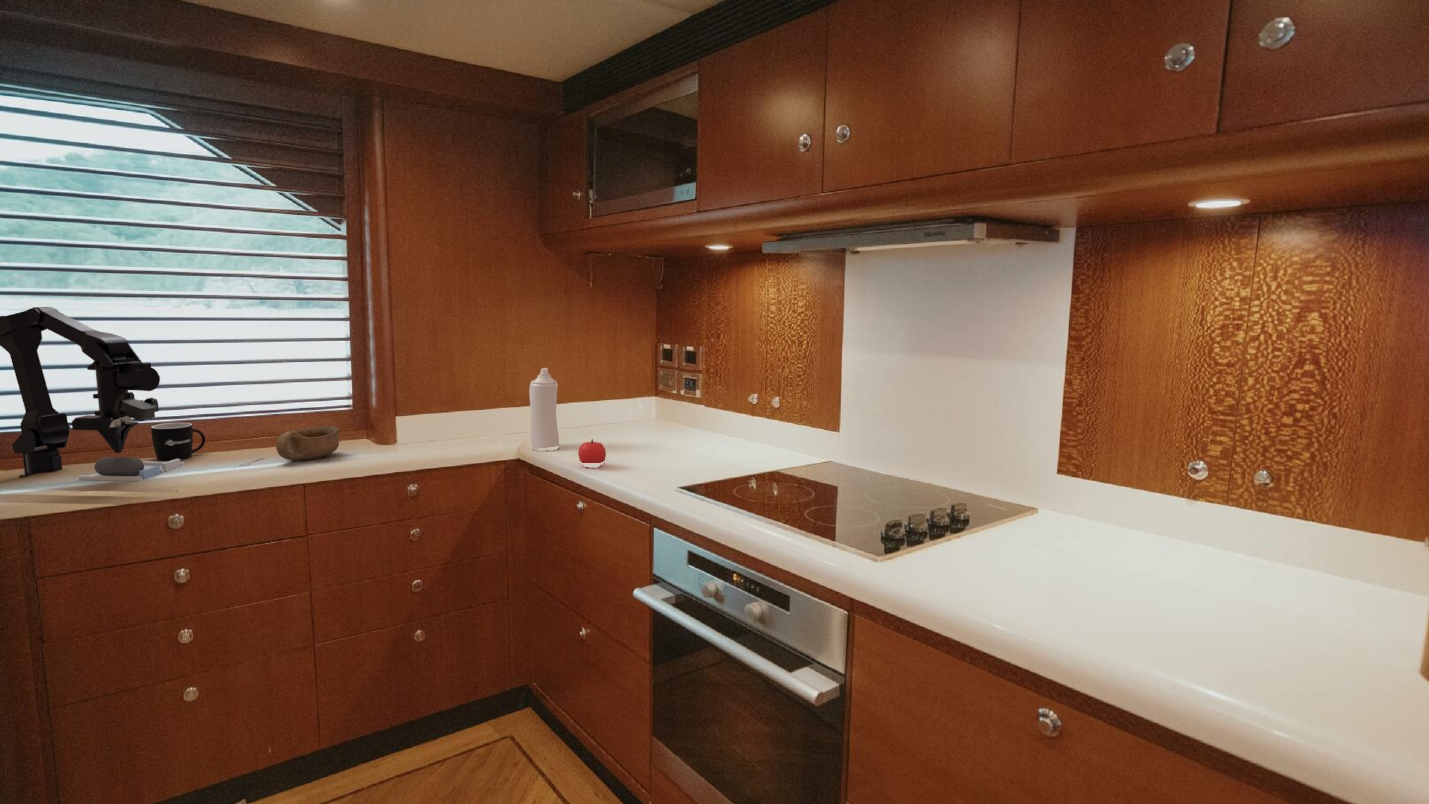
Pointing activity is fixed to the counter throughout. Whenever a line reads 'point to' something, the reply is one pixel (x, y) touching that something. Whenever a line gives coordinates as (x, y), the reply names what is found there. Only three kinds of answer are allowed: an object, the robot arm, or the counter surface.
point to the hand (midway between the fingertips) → (118, 452)
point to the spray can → (543, 411)
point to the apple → (592, 452)
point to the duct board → (149, 471)
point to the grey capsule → (119, 466)
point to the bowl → (308, 443)
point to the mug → (174, 441)
